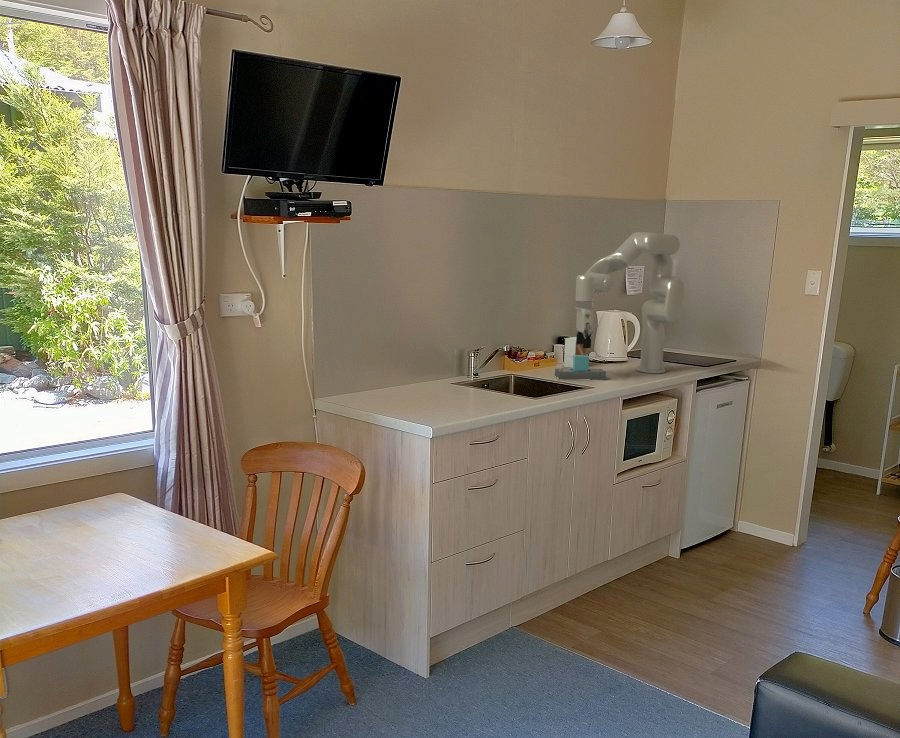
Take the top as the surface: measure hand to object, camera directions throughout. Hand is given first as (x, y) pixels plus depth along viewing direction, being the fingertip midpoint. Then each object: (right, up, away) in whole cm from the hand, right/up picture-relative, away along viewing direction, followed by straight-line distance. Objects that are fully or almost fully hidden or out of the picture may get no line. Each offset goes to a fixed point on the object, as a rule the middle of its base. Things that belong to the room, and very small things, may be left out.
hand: (583, 345), depth 335 cm
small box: (+1, -9, +29) cm, 30 cm away
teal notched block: (-1, -13, +2) cm, 13 cm away
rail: (-1, -13, +2) cm, 14 cm away
